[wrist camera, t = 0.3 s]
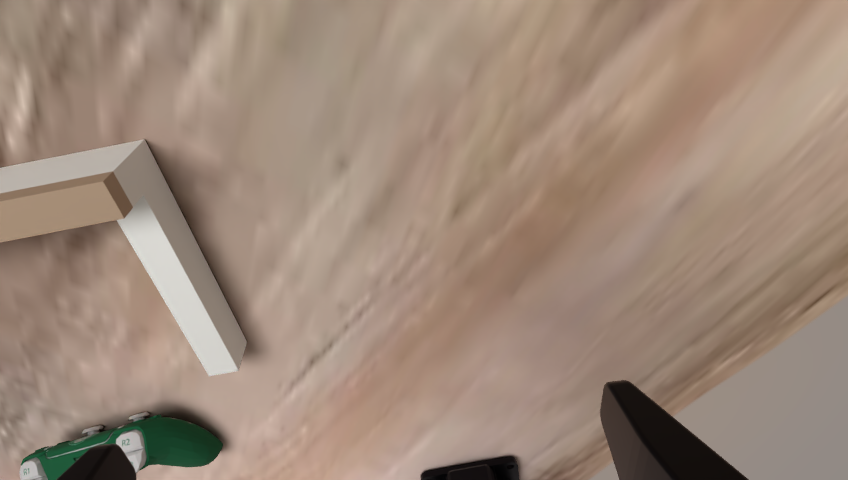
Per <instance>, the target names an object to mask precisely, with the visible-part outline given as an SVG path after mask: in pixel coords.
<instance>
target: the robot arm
mask: <svg viewBox="0 0 848 480" xmlns="http://www.w3.org/2000/svg"><path fill="white" fill-rule="evenodd" d="M600 416H601V422H602V425H603V429H604V432H605V435H606V438H607V441H608V445H609V448H610V451H611V454H612V457H613V460H614V464H615V467H616V470H617V473H618V476H619V480H748V479H747V478H746V477H745V476H744V475H742V474H741V473H740V472H739V471H737V470H736V469H735V468H734V467H733V466H731V465H730V464H729V463H728V462H727V461H725V460H724V459H723V458H722V457H720V456H719V455H718V454H717V453H716V452H715V451H713V450H712V449H711V448H710V447H708V446H707V445H706V444H705V443H704V442H702V441H701V440H700V439H698V437H696V436H695V435H694V434H692V433H691V432H690V431H689V430H688V429H687V428H685V427H684V426H683V425H682V424H681V423H679V422H678V421H677V420H676V419H674V418H673V417H672V416H671V415H670V414H668V413H667V412H666V411H665V410H664V409H662V408H661V407H660V406H659V405H657V404H656V403H655V402H654V401H653V400H651V399H650V398H649V397H648V396H647V395H645V394H644V393H643V392H642V391H640V390H639V389H638V388H637V387H636V386H634V385H633V384H632V383H631V382H629V381H626V380H621V381H613V382H607V383H606V384H605V385H604V389H603V396H602V402H601V409H600ZM56 480H136V471H135V468H134V467H133V465H132V464H131V462H130V461H129V459H128V458H127V456H126V454H125V453H124V451H123V450H122V448H121V447H120V446H119V445H117V444H105V445H97V446H94V447H92V448H90V449H89V450H88V451H86V452H85V453H84V454H83V455H82V456H81V457H80V458H79V459H78V460H77V461H76V462H75V463H74V464H72V465H71V466H70V467H69V468H68V469H67V470H66V471H65V472H64V473H63V474H62V475H61V476H60V477H59V478H58V479H56ZM421 480H519V472H518V465H517V461H516V458H514V457H505V458H500V459H494V460H488V461H483V462H477V463H471V464H466V465H460V466H454V467H449V468H443V469H437V470H432V471H426V472H424V473H422V474H421Z"/></svg>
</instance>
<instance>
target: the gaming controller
mask: <svg viewBox="0 0 848 480" xmlns="http://www.w3.org/2000/svg"><path fill="white" fill-rule="evenodd" d="M148 415H150V414H149V413H148V412H144V413H140V414H136V415H133V416H129V419H128V421H129V420H133V419H134V422H132V423H130V424H127V425H122V426H120V427H117V428H114V429H111V430H107V431H103V432H99V430H100V429H103V428H104V427H103V426H102V425H100V426H95V427H91V428H88V429H84V430H83V432H82V434H85V433H87V434H88V436H85V437H81V438H80V439H76V440H73V441H66V442H62V443H58V444H57V445H56V446H50V447H49V446H48V447H44V448H41V449H39V450H36V451H35V453H32V454H30V455H29V456H27V457H26V458H24V459H23V461H22V464H21V468H20V479H21V480H56V479H58V478H59V477H60V476H61V475H62V474H63V473H64V472H65V471H66V470H67V469H68V468H69V467H70V466H71V465H72V464H74V463H75V462H76V461H77V460H78V459H79V458H80V457H81V456H82V455H83V454H84V453H85V452H86V451H88V450H89V449H90V448H92V447H94V446H97V445H105V444H117V445H119V446H120V447H121V448H122V450H123V451H124V453H125V454H126V456H127V458H128V459H129V461H130V462H131V464H132V465H133V467H134V468H135V471H136V473H137V472H138V471H139V470H141V469H143V468H145V467H146V466H148V465H156V464H160V465H170V466H181V467H198V466H204V465H207V464H209V463H211V462H212V461H213V460H214V459H215V458H216V457H217V456H218V454H219V453H220V451H221V449H222V446H223V444H222V442H221V441H220V440H219V439H218V438H217V437H215V436H214V435H213V434H211V433H210V432H209V431H207V430H206V429H204V428H202V427H200V426H198V425H196V424H193V423H190V422H187V421H184V420H181V419H175V418H169V417H161V414H160V415H156V416H153V417H150V418H148V419H145V416H148Z"/></svg>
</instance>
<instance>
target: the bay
mask: <svg viewBox="0 0 848 480" xmlns="http://www.w3.org/2000/svg"><path fill="white" fill-rule="evenodd" d="M114 220H117V222H118V223H119V225H120V227H121V228H122V230H123V232H124V233H125V235H126V237H127V238H128V240H129V242H130V244H131V245H132V247H133V249H134V250H135V252H136V254H137V255H138V257H139V259H140V260H141V262H142V264H143V265H144V267H145V269H146V271H147V272H148V274H149V276H150V277H151V279H152V281H153V282H154V284H155V286H156V287H157V289H158V291H159V292H160V294H161V296H162V298H163V299H164V301H165V303H166V304H167V306H168V308H169V309H170V311H171V313H172V314H173V316H174V318H175V320H176V321H177V323H178V325H179V326H180V328H181V330H182V331H183V333H184V335H185V336H186V338H187V340H188V341H189V343H190V345H191V347H192V348H193V350H194V352H195V353H196V355H197V357H198V358H199V360H200V362H201V363H202V365H203V367H204V368H205V370H206V372H207V374H208V375H209V376H213V375H219V374H224V373H229V372H235V371H239V368H240V365H241V361H242V358H243V354H244V351H245V348H246V344H247V341H246V339H245V337H244V335H243V333H242V331H241V329H240V327H239V325H238V323H237V321H236V319H235V317H234V315H233V313H232V311H231V309H230V307H229V305H228V303H227V301H226V299H225V297H224V295H223V293H222V291H221V289H220V287H219V285H218V283H217V281H216V279H215V277H214V275H213V274H212V272H211V270H210V268H209V266H208V264H207V262H206V260H205V258H204V256H203V254H202V252H201V250H200V248H199V246H198V244H197V242H196V240H195V238H194V236H193V234H192V232H191V230H190V228H189V226H188V224H187V222H186V220H185V218H184V216H183V214H182V212H181V210H180V208H179V206H178V204H177V202H176V200H175V198H174V196H173V194H172V192H171V190H170V188H169V186H168V184H167V182H166V180H165V178H164V177H163V175H162V173H161V171H160V169H159V167H158V165H157V163H156V161H155V159H154V157H153V155H152V153H151V151H150V149H149V147H148V145H147V143H146V141H145V139H144V140H138V141H133V142H128V143H123V144H118V145H113V146H108V147H103V148H98V149H93V150H88V151H83V152H78V153H73V154H68V155H63V156H58V157H53V158H47V159H42V160H37V161H32V162H27V163H22V164H17V165H12V166H7V167H2V168H0V242H5V241H11V240H16V239H21V238H26V237H31V236H36V235H42V234H47V233H52V232H57V231H62V230H67V229H73V228H78V227H83V226H88V225H93V224H98V223H104V222H109V221H114Z"/></svg>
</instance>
